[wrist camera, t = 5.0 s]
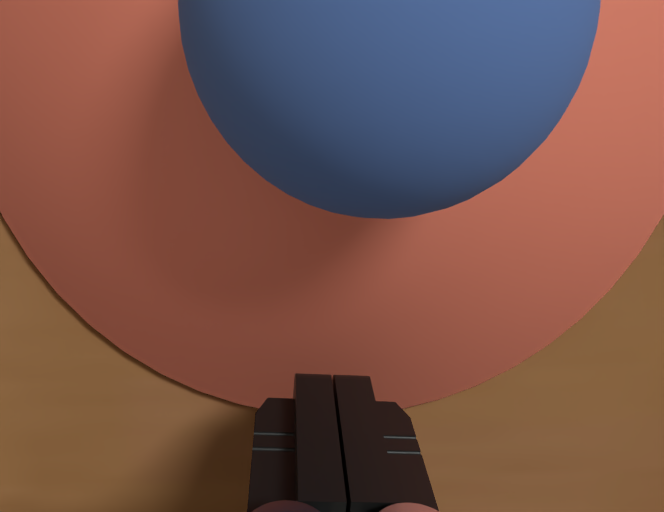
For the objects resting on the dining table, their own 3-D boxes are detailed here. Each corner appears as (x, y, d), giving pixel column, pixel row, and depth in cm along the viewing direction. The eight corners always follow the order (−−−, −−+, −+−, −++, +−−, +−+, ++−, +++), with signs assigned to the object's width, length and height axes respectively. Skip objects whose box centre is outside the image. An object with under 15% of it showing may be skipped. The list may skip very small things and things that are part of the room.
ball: (691, 236, 7) (451, 237, 12) (738, -273, 7) (477, -46, 12) (162, 171, 5) (156, 206, 11) (223, -493, 5) (186, -121, 11)
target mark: (818, -311, 10) (828, -317, 10) (609, 420, 15) (613, 425, 15) (-102, -449, 9) (-111, -460, 8) (0, 400, 14) (-3, 405, 13)
